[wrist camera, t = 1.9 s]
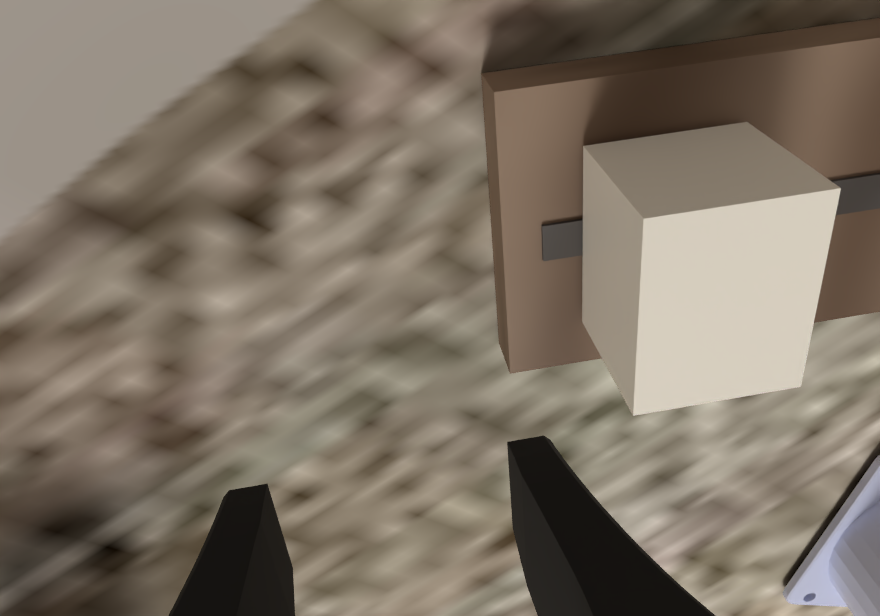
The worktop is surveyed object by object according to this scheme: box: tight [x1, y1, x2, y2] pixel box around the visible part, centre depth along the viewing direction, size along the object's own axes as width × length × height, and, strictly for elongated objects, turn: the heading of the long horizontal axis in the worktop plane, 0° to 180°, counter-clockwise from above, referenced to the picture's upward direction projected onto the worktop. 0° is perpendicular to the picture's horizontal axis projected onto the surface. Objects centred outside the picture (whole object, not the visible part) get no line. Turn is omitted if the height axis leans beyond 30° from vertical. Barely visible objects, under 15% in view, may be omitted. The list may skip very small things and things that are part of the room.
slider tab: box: [582, 122, 841, 416], centre depth 18 cm, size 4×5×4 cm
